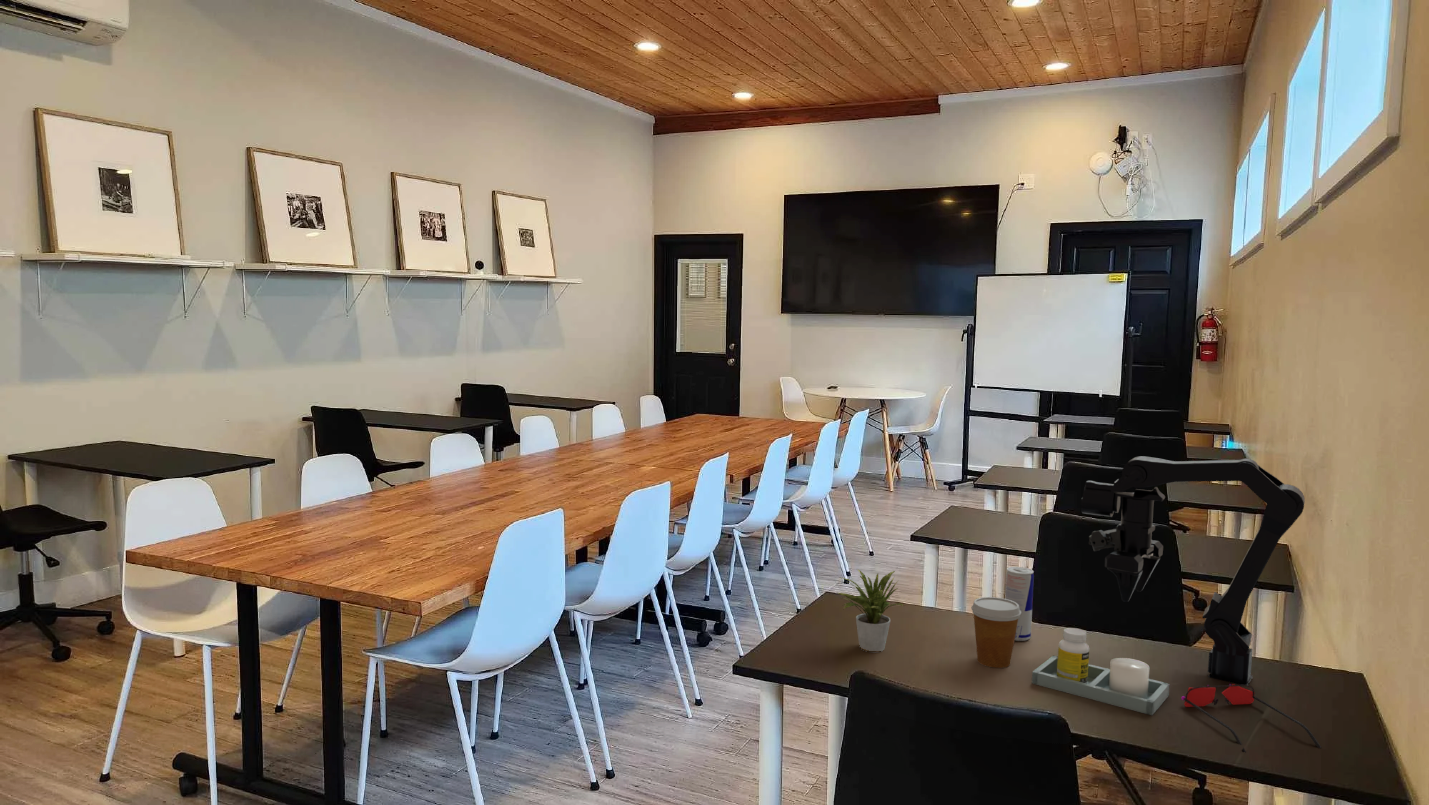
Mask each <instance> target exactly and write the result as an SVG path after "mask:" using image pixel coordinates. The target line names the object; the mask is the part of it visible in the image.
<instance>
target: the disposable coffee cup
mask: <svg viewBox="0 0 1429 805" xmlns="http://www.w3.org/2000/svg"><path fill="white" fill-rule="evenodd" d="M972 603H973V604H972V605H971V611H972V614H973V625H974V633H975V634H974V635H975V636H974V637H975V645H976V657H977V662H978V663H979V664H981V665H983V666H986V667H989V668H995V669H997V668H998V669H1002V668H1003V669H1004V668H1007V667H1010V665H1011V662H1012V661H1011V660H1012V656H1013V650H1014V644H1015V634H1016V629H1017V623H1018V618H1019V617H1020V615H1021V611H1020V609H1019V605H1018V604H1017V603H1016V602H1014V601H1011V600H1008V599H1005V597H1004V598H1003V597H994V596H984V597H979V598H976V599H974V600H973V602H972Z"/></svg>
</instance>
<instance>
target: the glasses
mask: <svg viewBox="0 0 1429 805" xmlns="http://www.w3.org/2000/svg"><path fill="white" fill-rule="evenodd" d="M1206 685H1207V686H1195V687H1188V689H1187V692H1186V694H1185V696H1184V695H1183V696H1181V698H1180V699H1181V700H1182V701H1184V703H1183V704H1184V706H1185V708H1190V707H1194V709H1195V708H1196V709H1197V710H1199V711H1200V712H1202V713H1203V714H1204V715H1206V716H1208V718H1211V719H1213V720H1214V721H1215V722H1217V723H1219V724H1220V725H1222V726H1223V727H1225V728H1226V729H1227V730H1229V731H1230V732H1231V734H1232V735H1233V737H1234V739H1235V740H1236V743H1237V744H1238V745H1240V746H1242V745H1243V743H1242V742H1241V740H1240V738H1239V736H1238V734H1237V733H1236V731H1235V730H1234V729H1233V728H1232V727H1230V726H1229V725H1228V724H1226V723H1224V722H1223V721H1221V720H1220V719H1218V718H1216V717H1215V716H1213V715H1212V714H1210V713H1209V712H1207V711H1206V710H1204V709H1203V708H1202V707H1205V706H1208V705H1209V704H1213V706H1216V705H1217V704H1218V702H1219V698H1217V697H1216V698H1215V696H1216V690H1217V689H1216V688H1224V687H1227V688H1226V689H1223V691H1222V692H1221V694H1222V695H1223V696H1224V697H1225V698H1224V699H1225V700H1224V701H1225V702H1226V704H1227V705H1228V706H1229V705H1230V703H1231V705H1233V706H1234V705H1250V704H1252V703H1254V701H1255V700H1256V701H1258V702H1259V703H1261V704H1263V705H1265V706H1266V707H1268V708H1270V709H1272V710H1273V711H1275V712H1276V713H1278V714H1280V715H1281V716H1284V717H1285V718H1287V719H1289V720H1290V721H1292V722H1294V723H1295V724H1297V725H1299V726H1300V727H1302V728H1303V729H1304V730H1305V732H1306V733H1307V734H1308V736H1309V737H1310V739H1311V740H1312V742H1313V743H1314V744H1315V746H1316V747H1317V748H1318V749H1322V746H1321V745H1320V742H1319V741H1318V740H1317V739H1316V737H1315V735H1313V733H1312V732H1311V731H1310V729H1309V728H1308V727H1307V726H1306V725H1304V723H1302V722H1300V721H1298V720H1297V719H1294V718H1293V717H1291V716H1290V715H1288V714H1286V713H1284V712H1283V711H1281V710H1279V709H1277V708H1276V707H1274V706H1272V705H1271V704H1269V703H1268V702H1266V701H1264V700H1262V699H1261V698H1259V697H1257V696H1255V695H1256V692H1255V690H1254V688H1253V687H1252V686H1250V685H1249V684H1248V685H1240V684H1235V683H1229V685H1227V684H1226V685H1209V684H1206ZM1245 687H1248V688H1249V689H1251V690H1249V689H1247V688H1245ZM1241 752H1242V753H1244V752H1245V754H1246V753H1247V751H1246V748H1245V747H1243V748H1242V750H1241Z"/></svg>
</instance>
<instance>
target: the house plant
mask: <svg viewBox="0 0 1429 805" xmlns="http://www.w3.org/2000/svg"><path fill="white" fill-rule="evenodd" d="M856 570H857V571H858V572H859V577H860V579H861V580H862V582H863V586H864V589H865V591H866V593H867V594H866V593H865V592H864V590H863V589H862V587H861V586H859V585H858V584H857V582H855V581H853V580H852V579H849V578H845V577H840V576H839V578H840V579H843V580H847V583H848V584H850V583H851V586H853V587H855V589H856V590H857V591H858V593H859V595H856V596H855V595H853V594H850V593H844V592H837V594H838V595H840V596H843V597H844V599H845V600H847V601H849V602H845V603H844V604H843V609H847V608H850V607H854V606H855V608H856V609H858V610H859V611H860V612H861V614H857V615H856V616H855V622H856V628H857V637H858V645H860V646H859V648H860V647H861V648H863V649H866V650H869V651H881V652H883V650H884V651H885V647H886V643H887V638H888V634H889V631H890V630H889V629H890V624H891V618H890V617H889V616H887V615H885V614H884V612H885V611H886V610H888V609H889V608H890V607H892V606H896V605H897V603H894V604H891V602H889V601H888V600H890V599H891V596H892V594H894V592H896V591H897V590H898V589H899V587H897V588H895V586H896V584H898V582H899V580H897V581H896V582H895V583H894V584H893V582H894V579H895V576H893V578H892V579H891V577H892V575H893V574H894V573H895V572H896V570H893V571H890V572H889V573H887V574H885V575H884V576H883V577H882V578H880V581H879V573H876V575H875V579H874V581H873V582H872V580H871V578H870V577H869V576H867V575H865V573H863V572H862V571H861V570H860V569H858V568H856ZM867 579H868V580H867ZM890 579H891V580H890ZM848 581H849V582H848ZM853 584H854V585H853ZM887 584H888V585H887ZM892 584H893V585H892ZM894 588H895V589H894ZM889 589H890V590H889ZM888 591H889V592H888ZM898 605H900V606H903V603H898ZM859 607H860V608H859ZM861 609H862V610H861Z"/></svg>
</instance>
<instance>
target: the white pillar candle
mask: <svg viewBox="0 0 1429 805" xmlns="http://www.w3.org/2000/svg"><path fill="white" fill-rule="evenodd" d="M1109 664H1110V665H1109V666H1110V667H1109V669H1110V680H1109V690H1113V691H1117V692H1121V693H1125V694H1129V695H1133V696H1137V697H1141V698H1145V699H1148V683H1149V679H1150V666H1149V664H1147V663H1146V662H1143V661H1141V660H1138V659H1134V658H1129V657H1116V658H1115V657H1114V658H1113V659H1110V663H1109Z"/></svg>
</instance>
